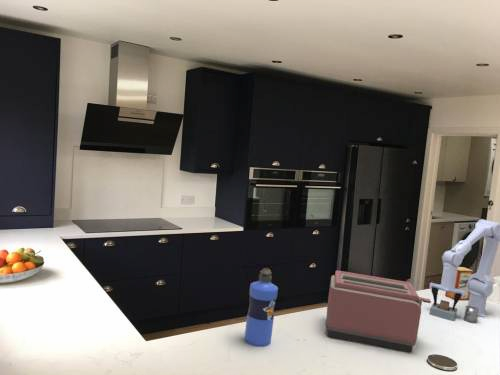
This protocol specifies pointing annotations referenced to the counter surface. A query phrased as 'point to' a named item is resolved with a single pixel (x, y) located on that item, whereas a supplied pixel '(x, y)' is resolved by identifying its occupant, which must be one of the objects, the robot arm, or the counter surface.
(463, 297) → the baking soda box
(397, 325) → the toaster
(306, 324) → the counter surface
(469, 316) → the round peg
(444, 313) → the socket block
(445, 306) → the square peg
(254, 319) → the water bottle
